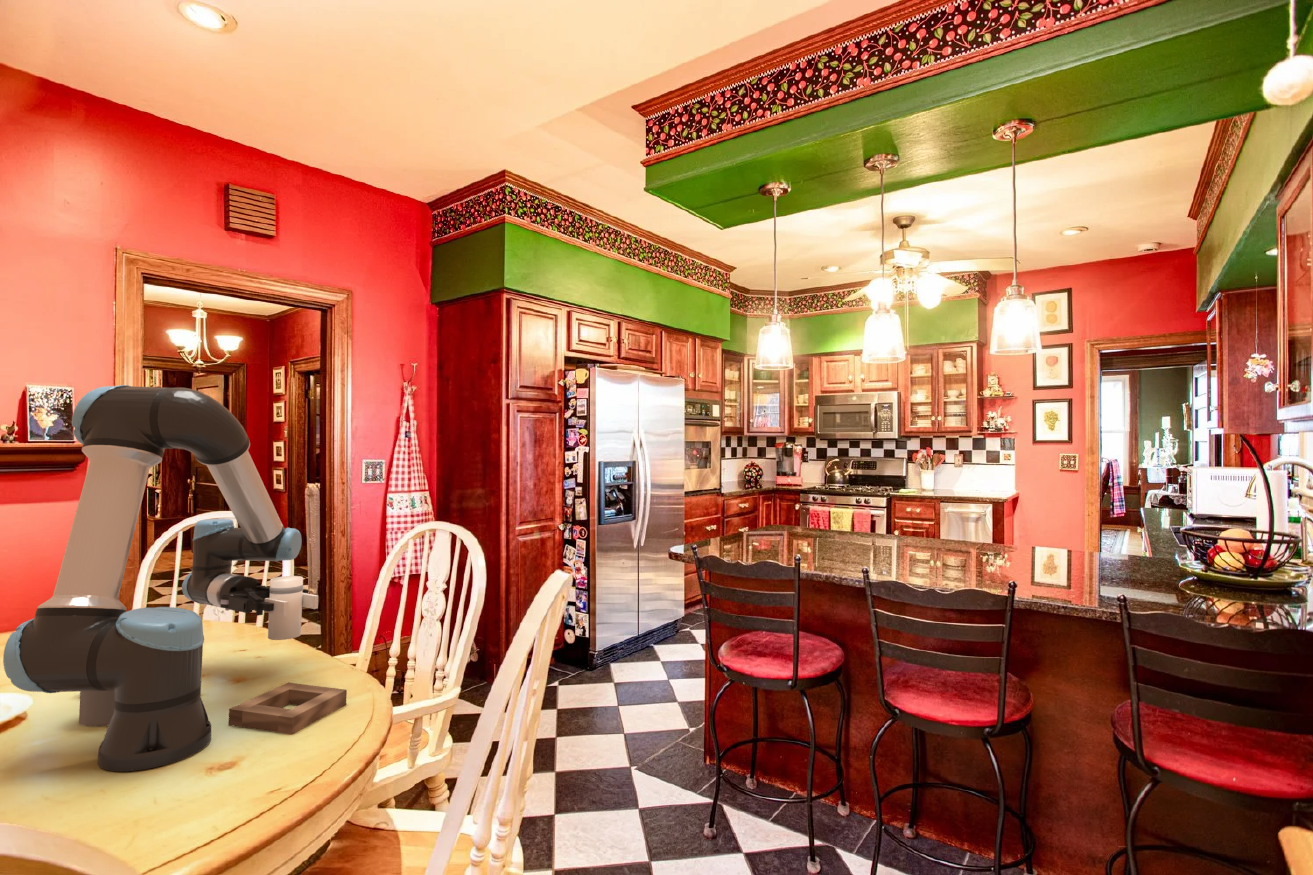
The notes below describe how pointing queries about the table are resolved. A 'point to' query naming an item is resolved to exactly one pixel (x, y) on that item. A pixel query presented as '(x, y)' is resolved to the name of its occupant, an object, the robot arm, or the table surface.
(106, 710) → the coffee mug
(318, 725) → the table surface
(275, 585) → the white cylinder
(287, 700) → the cradle
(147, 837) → the table surface
